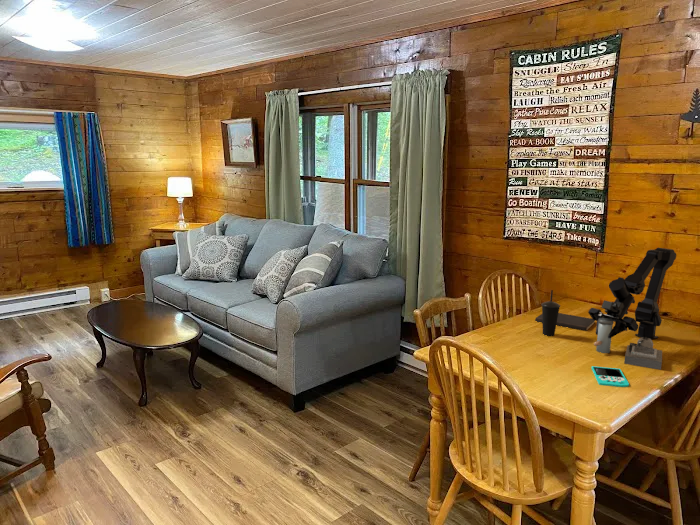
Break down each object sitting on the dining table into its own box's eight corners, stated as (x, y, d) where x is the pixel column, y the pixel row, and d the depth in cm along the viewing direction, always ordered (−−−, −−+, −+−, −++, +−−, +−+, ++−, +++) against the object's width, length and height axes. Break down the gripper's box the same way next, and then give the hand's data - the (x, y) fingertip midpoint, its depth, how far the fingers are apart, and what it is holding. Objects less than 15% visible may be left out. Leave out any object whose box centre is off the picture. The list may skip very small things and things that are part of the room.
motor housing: (627, 347, 220) (629, 334, 219) (661, 353, 214) (663, 339, 213) (624, 363, 203) (625, 349, 202) (660, 369, 197) (662, 355, 196)
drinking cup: (538, 336, 234) (542, 291, 230) (539, 330, 240) (543, 287, 237) (557, 338, 231) (561, 293, 227) (558, 333, 238) (561, 289, 234)
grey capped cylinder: (600, 347, 219) (603, 317, 217) (613, 351, 215) (616, 320, 213) (588, 351, 215) (591, 320, 213) (601, 355, 211) (604, 323, 208)
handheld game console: (598, 386, 184) (598, 382, 184) (590, 368, 199) (590, 365, 199) (630, 389, 181) (630, 385, 181) (619, 371, 196) (620, 368, 196)
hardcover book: (545, 315, 267) (546, 310, 266) (595, 323, 253) (595, 319, 253) (534, 322, 254) (535, 318, 254) (586, 332, 241) (586, 327, 240)
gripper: (592, 288, 221) (574, 318, 217) (637, 298, 206) (617, 330, 202) (602, 304, 227) (584, 333, 223) (646, 315, 211) (627, 347, 208)
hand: (602, 335), depth 214 cm, fingers closed on grey capped cylinder, 5 cm apart
